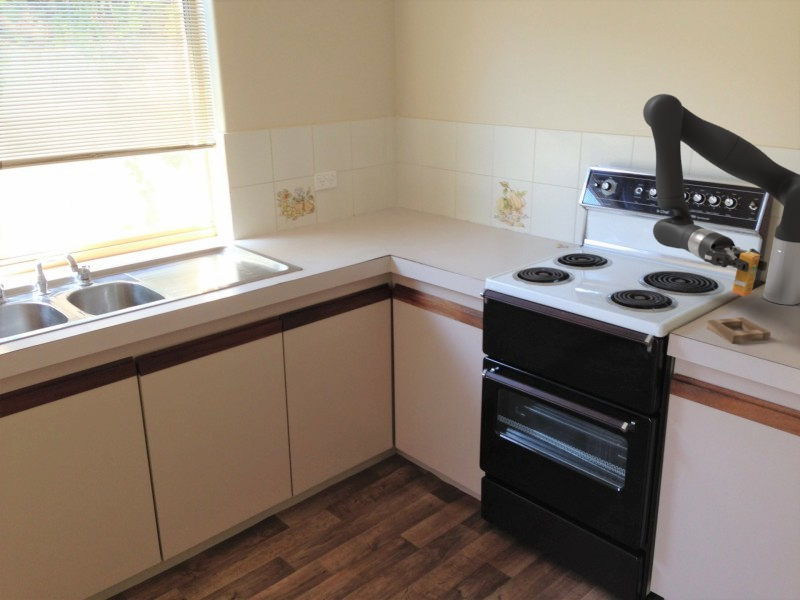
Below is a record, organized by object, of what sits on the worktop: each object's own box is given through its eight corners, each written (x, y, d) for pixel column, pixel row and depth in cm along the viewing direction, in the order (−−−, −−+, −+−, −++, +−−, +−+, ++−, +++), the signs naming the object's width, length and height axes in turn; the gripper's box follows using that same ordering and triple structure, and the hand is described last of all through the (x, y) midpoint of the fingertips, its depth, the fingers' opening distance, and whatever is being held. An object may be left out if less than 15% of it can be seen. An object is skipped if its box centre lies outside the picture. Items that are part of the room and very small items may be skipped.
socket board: (741, 324, 182) (742, 317, 181) (769, 340, 173) (770, 332, 172) (706, 327, 180) (707, 320, 179) (732, 343, 171) (733, 335, 170)
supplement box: (745, 297, 171) (753, 256, 167) (731, 293, 173) (738, 252, 170) (752, 294, 173) (760, 254, 169) (739, 290, 175) (746, 250, 172)
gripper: (687, 233, 180) (732, 253, 165) (738, 231, 184) (786, 250, 168) (683, 262, 183) (726, 284, 167) (732, 259, 186) (779, 281, 171)
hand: (756, 267), depth 168 cm, fingers closed on supplement box, 4 cm apart
